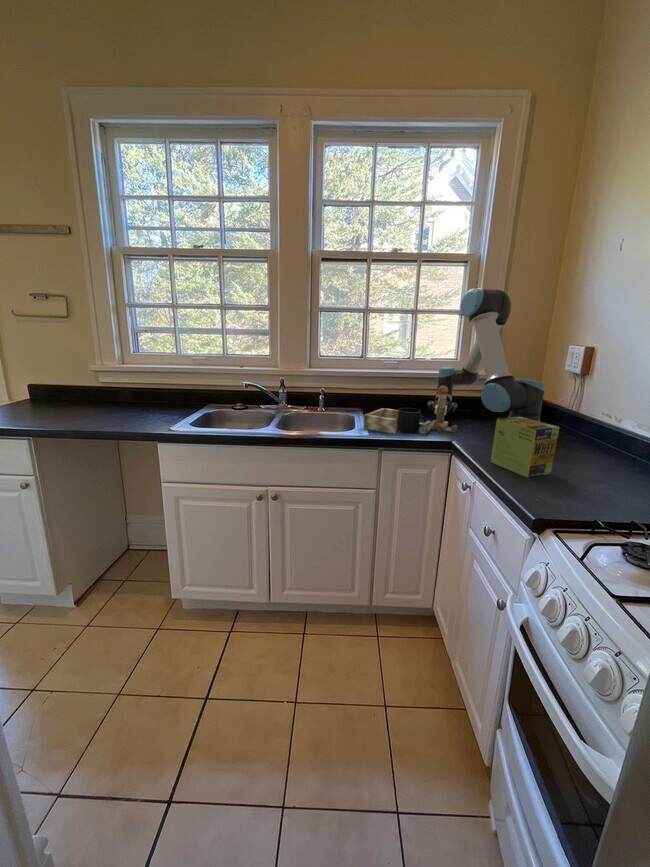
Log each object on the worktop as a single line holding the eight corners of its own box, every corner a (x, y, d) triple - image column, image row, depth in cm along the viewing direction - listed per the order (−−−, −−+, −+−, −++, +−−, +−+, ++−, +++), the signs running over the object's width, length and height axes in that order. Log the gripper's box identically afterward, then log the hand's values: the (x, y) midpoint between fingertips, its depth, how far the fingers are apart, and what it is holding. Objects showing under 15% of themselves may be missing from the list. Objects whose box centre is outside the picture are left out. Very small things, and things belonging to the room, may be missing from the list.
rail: (456, 430, 173) (457, 425, 172) (454, 432, 170) (455, 427, 169) (401, 421, 187) (401, 416, 186) (398, 423, 183) (398, 418, 183)
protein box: (528, 478, 121) (536, 429, 116) (489, 462, 134) (496, 418, 130) (551, 474, 125) (560, 426, 120) (512, 458, 138) (519, 415, 134)
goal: (411, 424, 181) (412, 412, 179) (394, 433, 166) (395, 420, 164) (381, 420, 189) (382, 407, 187) (363, 428, 174) (363, 414, 172)
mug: (424, 434, 165) (426, 413, 163) (395, 431, 169) (397, 411, 166) (425, 429, 174) (427, 409, 172) (398, 426, 177) (399, 407, 175)
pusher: (447, 428, 175) (452, 385, 170) (435, 436, 162) (440, 390, 157) (433, 425, 179) (437, 384, 174) (420, 433, 165) (424, 389, 160)
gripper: (459, 410, 188) (459, 421, 166) (425, 407, 193) (420, 418, 171) (461, 395, 186) (461, 404, 164) (426, 392, 191) (421, 401, 169)
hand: (440, 411), depth 168 cm, fingers closed on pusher, 3 cm apart
